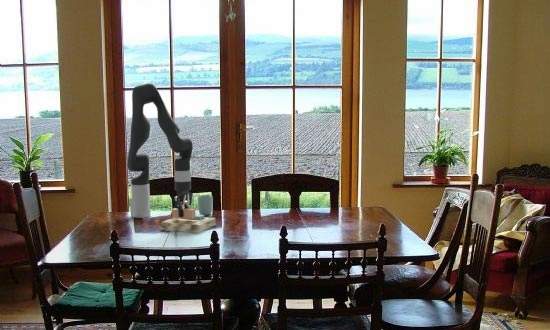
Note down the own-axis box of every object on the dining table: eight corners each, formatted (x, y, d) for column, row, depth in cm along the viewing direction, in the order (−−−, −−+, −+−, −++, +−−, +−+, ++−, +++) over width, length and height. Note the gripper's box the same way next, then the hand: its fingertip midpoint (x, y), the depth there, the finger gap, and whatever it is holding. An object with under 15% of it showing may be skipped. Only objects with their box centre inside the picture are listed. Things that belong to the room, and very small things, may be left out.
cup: (214, 213, 295) (213, 195, 294) (211, 216, 287) (210, 197, 286) (200, 213, 296) (199, 194, 295) (196, 216, 288) (196, 197, 287)
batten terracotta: (195, 217, 257) (195, 208, 257) (192, 218, 253) (191, 210, 253) (175, 216, 260) (175, 207, 259) (172, 217, 256) (172, 209, 255)
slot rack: (161, 229, 257) (161, 222, 256) (180, 222, 273) (179, 215, 272) (198, 232, 250) (198, 225, 249) (215, 225, 266) (215, 217, 265)
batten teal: (204, 223, 265) (204, 215, 265) (200, 224, 261) (199, 216, 261) (186, 221, 269) (186, 213, 269) (182, 223, 266) (182, 215, 265)
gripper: (181, 182, 247) (182, 219, 248) (197, 178, 260) (198, 213, 262) (167, 181, 249) (168, 218, 251) (183, 177, 263) (184, 213, 264)
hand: (183, 216), depth 256 cm, fingers closed on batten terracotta, 4 cm apart
